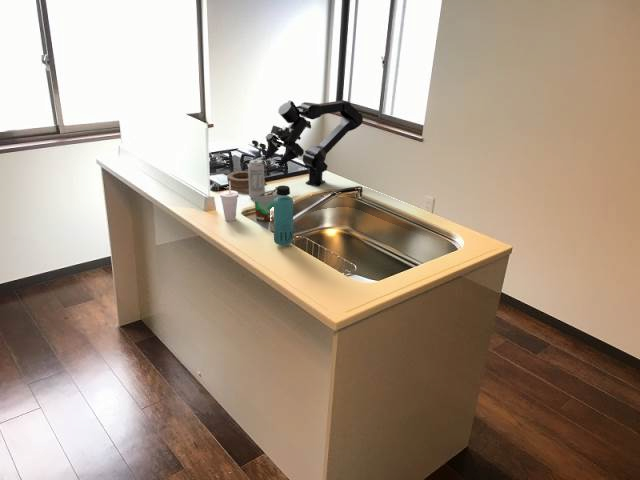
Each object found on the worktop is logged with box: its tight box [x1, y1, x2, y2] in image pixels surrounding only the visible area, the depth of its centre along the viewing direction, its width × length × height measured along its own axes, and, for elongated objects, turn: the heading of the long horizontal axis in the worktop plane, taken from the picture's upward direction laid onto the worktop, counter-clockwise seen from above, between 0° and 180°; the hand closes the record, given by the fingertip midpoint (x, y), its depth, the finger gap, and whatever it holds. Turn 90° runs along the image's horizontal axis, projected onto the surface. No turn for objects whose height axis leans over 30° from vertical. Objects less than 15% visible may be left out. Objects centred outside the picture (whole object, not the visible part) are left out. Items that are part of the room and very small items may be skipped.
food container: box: [252, 186, 280, 223], centre depth 188 cm, size 12×6×10 cm, turn 143°
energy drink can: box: [247, 158, 266, 201], centre depth 205 cm, size 6×6×15 cm
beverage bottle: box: [273, 185, 295, 246], centre depth 167 cm, size 6×7×20 cm
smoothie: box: [219, 181, 239, 222], centre depth 186 cm, size 6×6×14 cm
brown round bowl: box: [224, 170, 267, 195], centre depth 219 cm, size 14×14×4 cm
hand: (272, 162), depth 207 cm, fingers open, 9 cm apart
